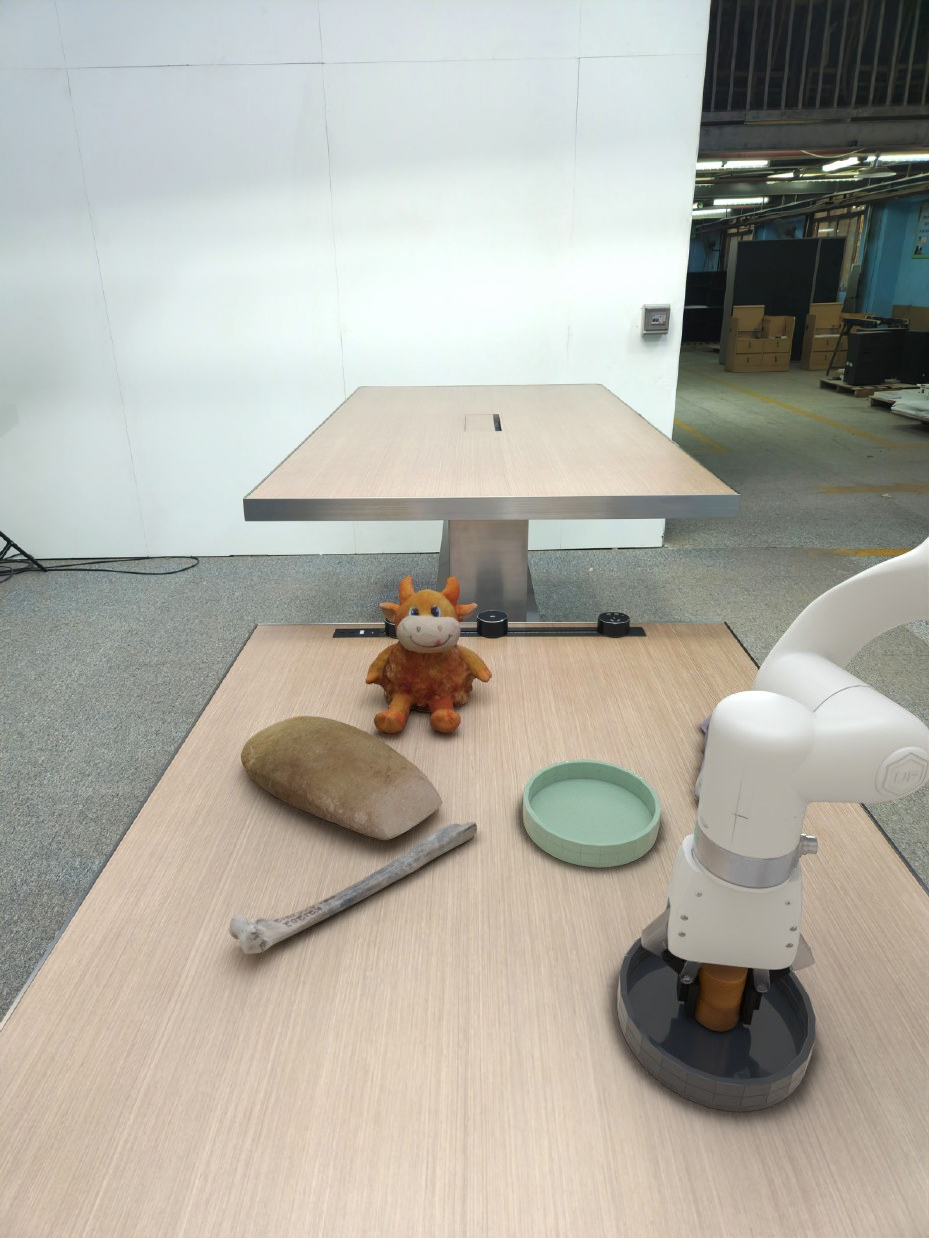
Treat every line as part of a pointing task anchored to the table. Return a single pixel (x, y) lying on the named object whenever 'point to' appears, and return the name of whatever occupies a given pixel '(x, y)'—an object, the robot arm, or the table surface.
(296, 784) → the stone
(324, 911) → the bone
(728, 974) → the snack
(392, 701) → the toy
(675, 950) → the robot arm
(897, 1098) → the table surface
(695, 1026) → the slate bowl
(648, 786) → the green bowl
